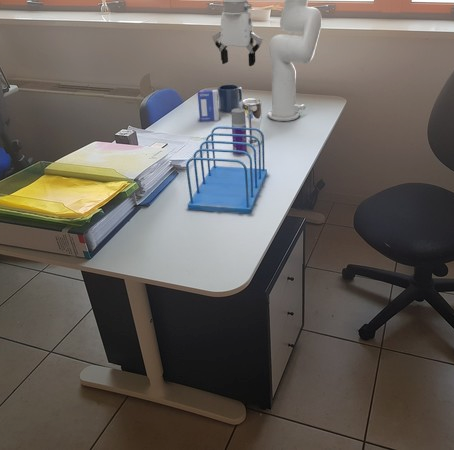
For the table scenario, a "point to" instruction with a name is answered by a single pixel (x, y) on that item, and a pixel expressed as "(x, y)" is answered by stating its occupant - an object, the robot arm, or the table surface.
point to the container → (239, 130)
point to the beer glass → (252, 118)
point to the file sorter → (227, 179)
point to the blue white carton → (208, 105)
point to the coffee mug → (229, 97)
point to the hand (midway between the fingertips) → (238, 64)
